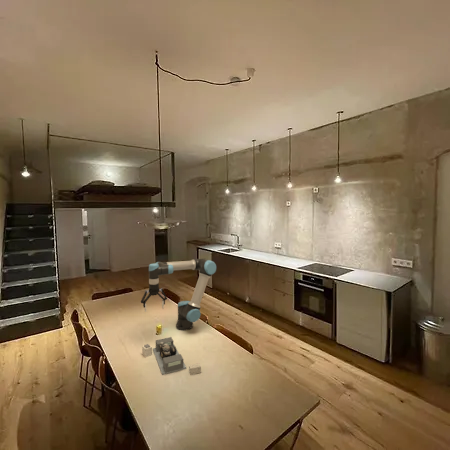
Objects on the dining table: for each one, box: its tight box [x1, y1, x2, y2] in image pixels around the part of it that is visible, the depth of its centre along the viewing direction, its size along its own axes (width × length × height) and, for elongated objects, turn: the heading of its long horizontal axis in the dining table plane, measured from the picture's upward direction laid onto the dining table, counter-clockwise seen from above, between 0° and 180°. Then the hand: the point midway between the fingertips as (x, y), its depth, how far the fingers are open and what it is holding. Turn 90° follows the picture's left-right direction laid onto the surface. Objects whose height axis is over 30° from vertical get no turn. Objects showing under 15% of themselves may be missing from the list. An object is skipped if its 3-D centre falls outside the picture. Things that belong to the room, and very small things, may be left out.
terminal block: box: [188, 363, 202, 376], centre depth 172 cm, size 7×4×4 cm, turn 111°
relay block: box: [141, 343, 153, 358], centre depth 193 cm, size 5×6×7 cm
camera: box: [160, 342, 177, 358], centre depth 187 cm, size 16×10×10 cm, turn 31°
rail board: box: [152, 336, 187, 376], centre depth 187 cm, size 16×34×7 cm, turn 25°
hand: (154, 309), depth 209 cm, fingers open, 13 cm apart
